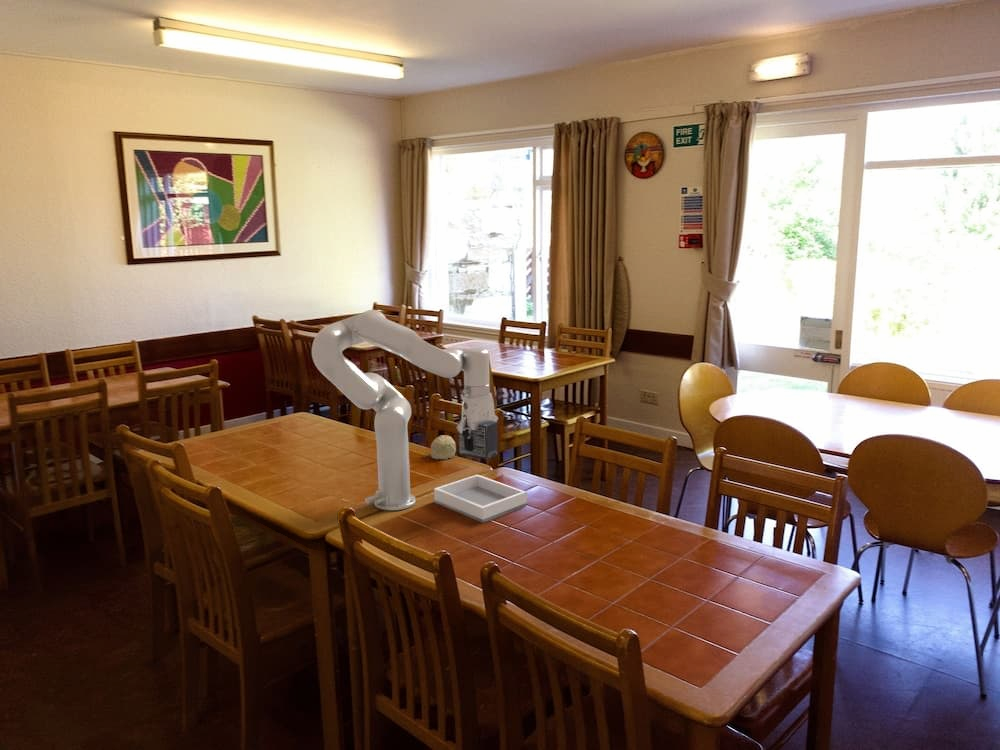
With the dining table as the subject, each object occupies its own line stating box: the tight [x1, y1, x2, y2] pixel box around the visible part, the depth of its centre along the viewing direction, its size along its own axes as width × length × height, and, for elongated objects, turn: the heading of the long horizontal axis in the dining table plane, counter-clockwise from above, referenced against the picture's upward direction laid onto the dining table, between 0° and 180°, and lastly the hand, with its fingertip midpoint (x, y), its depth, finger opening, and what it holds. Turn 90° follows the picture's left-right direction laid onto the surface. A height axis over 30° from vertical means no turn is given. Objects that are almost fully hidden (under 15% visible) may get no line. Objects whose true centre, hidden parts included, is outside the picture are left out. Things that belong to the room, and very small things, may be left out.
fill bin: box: [433, 474, 527, 524], centre depth 217 cm, size 18×22×4 cm
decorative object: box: [430, 434, 457, 460], centre depth 263 cm, size 9×10×10 cm
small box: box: [457, 420, 499, 461], centre depth 215 cm, size 11×6×10 cm, turn 58°
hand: (478, 447), depth 215 cm, fingers closed on small box, 7 cm apart
